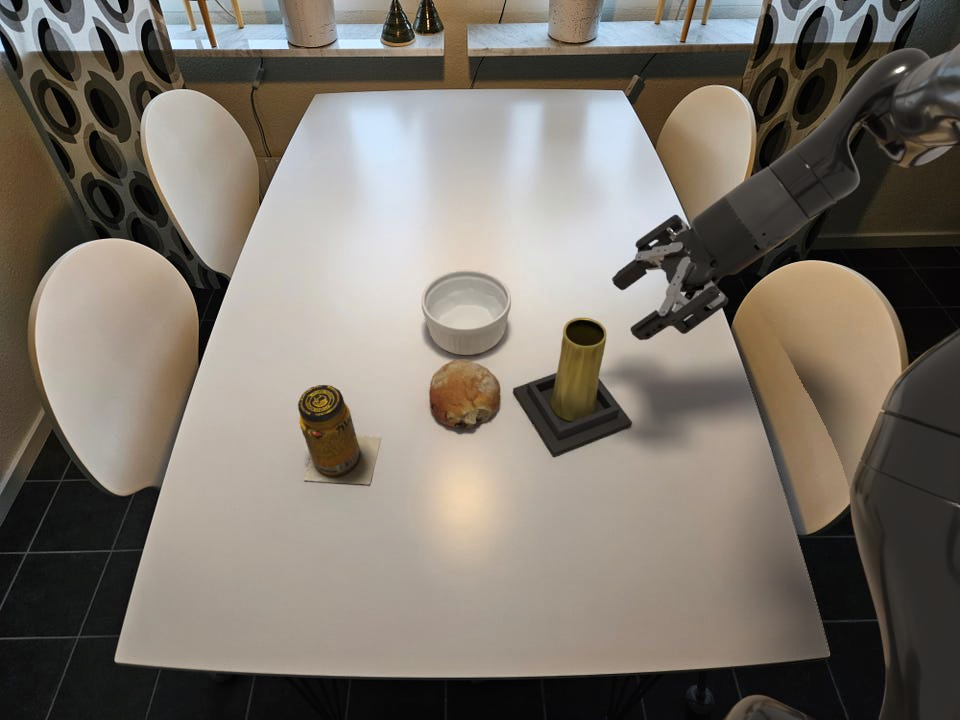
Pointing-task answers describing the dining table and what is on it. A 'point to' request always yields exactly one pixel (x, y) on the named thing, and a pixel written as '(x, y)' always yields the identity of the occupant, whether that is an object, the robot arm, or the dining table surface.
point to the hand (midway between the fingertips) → (625, 309)
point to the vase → (578, 369)
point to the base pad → (567, 433)
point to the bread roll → (464, 394)
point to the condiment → (334, 439)
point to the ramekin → (466, 310)
